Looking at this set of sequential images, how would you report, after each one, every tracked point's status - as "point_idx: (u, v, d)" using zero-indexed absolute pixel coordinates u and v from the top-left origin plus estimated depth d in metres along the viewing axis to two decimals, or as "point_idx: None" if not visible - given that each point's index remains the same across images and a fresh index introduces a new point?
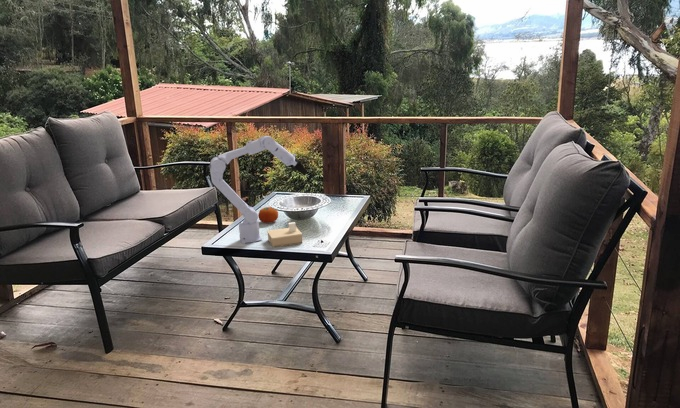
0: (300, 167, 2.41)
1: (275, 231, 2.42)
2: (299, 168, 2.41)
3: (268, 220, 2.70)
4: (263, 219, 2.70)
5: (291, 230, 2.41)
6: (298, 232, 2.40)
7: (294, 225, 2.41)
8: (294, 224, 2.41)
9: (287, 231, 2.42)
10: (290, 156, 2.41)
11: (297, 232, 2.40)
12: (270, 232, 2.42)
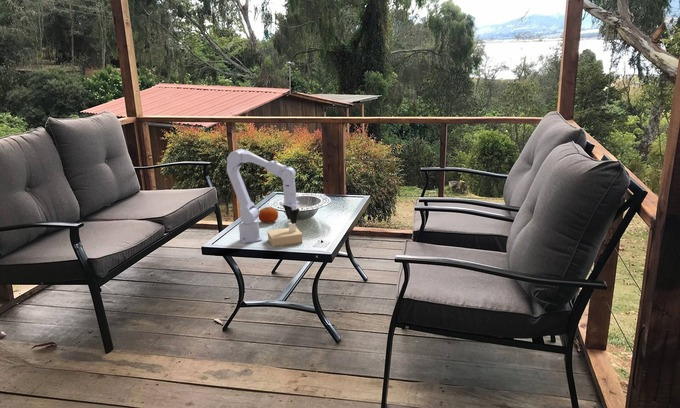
0: (294, 215, 2.36)
1: (275, 231, 2.42)
2: (292, 215, 2.36)
3: (268, 220, 2.70)
4: (263, 219, 2.70)
5: (291, 230, 2.41)
6: (298, 232, 2.40)
7: (294, 225, 2.41)
8: (294, 224, 2.41)
9: (287, 231, 2.42)
10: (294, 200, 2.37)
11: (297, 232, 2.40)
12: (270, 232, 2.42)
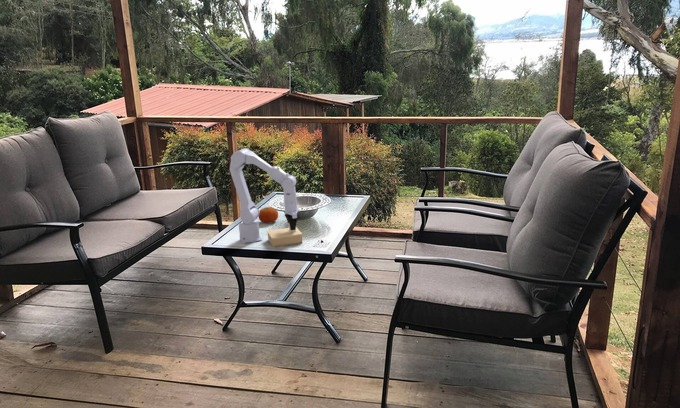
0: (293, 222, 2.39)
1: (275, 231, 2.42)
2: (292, 222, 2.39)
3: (268, 220, 2.70)
4: (263, 219, 2.70)
5: (291, 230, 2.41)
6: (298, 232, 2.40)
7: None
8: None
9: (287, 231, 2.42)
10: (295, 208, 2.38)
11: (297, 232, 2.40)
12: (270, 232, 2.42)
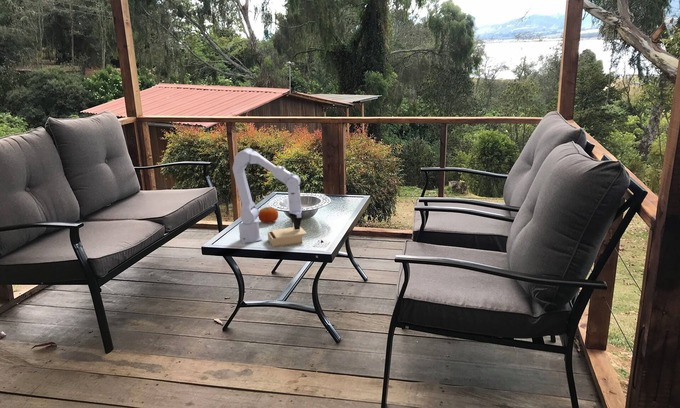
0: (297, 221, 2.40)
1: (279, 231, 2.43)
2: (296, 221, 2.40)
3: (268, 220, 2.70)
4: (263, 219, 2.70)
5: None
6: (302, 231, 2.40)
7: None
8: None
9: (291, 230, 2.43)
10: (299, 207, 2.38)
11: (302, 231, 2.41)
12: (274, 231, 2.42)
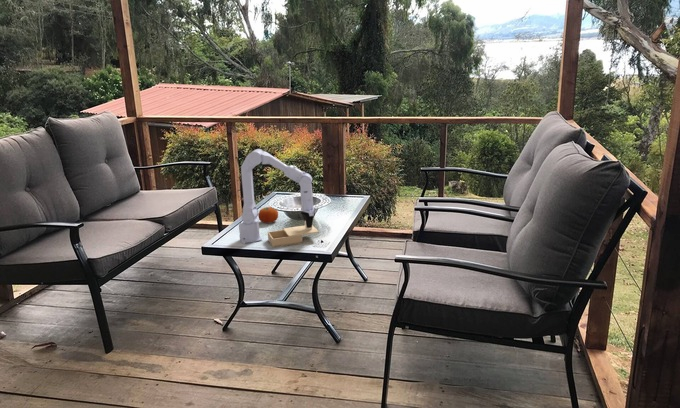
0: (309, 219, 2.42)
1: (291, 229, 2.45)
2: (308, 219, 2.42)
3: (268, 220, 2.70)
4: (263, 219, 2.70)
5: (307, 228, 2.43)
6: (314, 230, 2.42)
7: None
8: None
9: (303, 229, 2.44)
10: (311, 206, 2.40)
11: (314, 229, 2.43)
12: (286, 230, 2.44)
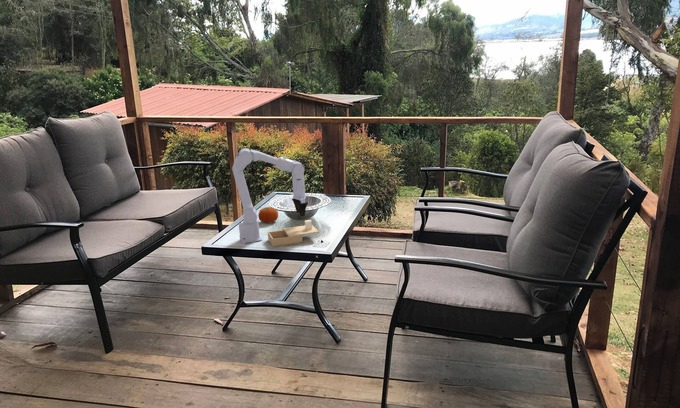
0: (303, 208, 2.44)
1: (291, 229, 2.45)
2: (301, 208, 2.44)
3: (268, 220, 2.70)
4: (263, 219, 2.70)
5: (307, 228, 2.43)
6: (314, 230, 2.42)
7: (310, 223, 2.43)
8: (310, 222, 2.43)
9: (303, 229, 2.44)
10: (303, 193, 2.45)
11: (314, 229, 2.43)
12: (286, 230, 2.44)
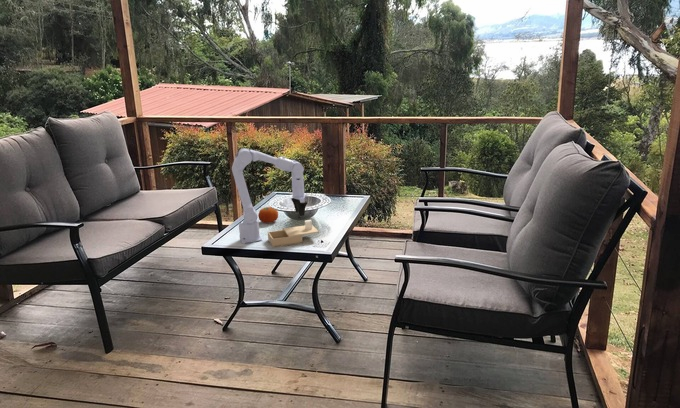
0: (302, 207, 2.45)
1: (291, 229, 2.45)
2: (301, 207, 2.45)
3: (268, 220, 2.70)
4: (263, 219, 2.70)
5: (307, 228, 2.43)
6: (314, 230, 2.42)
7: (310, 223, 2.43)
8: (310, 222, 2.43)
9: (303, 229, 2.44)
10: (302, 193, 2.45)
11: (314, 229, 2.43)
12: (286, 230, 2.44)
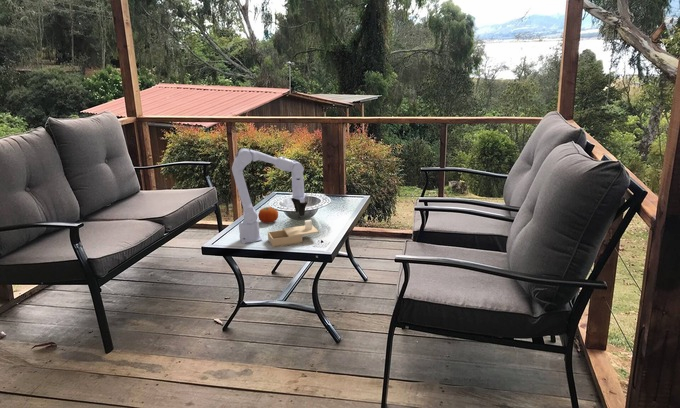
0: (302, 207, 2.45)
1: (291, 229, 2.45)
2: (301, 207, 2.45)
3: (268, 220, 2.70)
4: (263, 219, 2.70)
5: (307, 228, 2.43)
6: (314, 230, 2.42)
7: (310, 223, 2.43)
8: (310, 222, 2.43)
9: (303, 229, 2.44)
10: (302, 193, 2.45)
11: (314, 229, 2.43)
12: (286, 230, 2.44)
